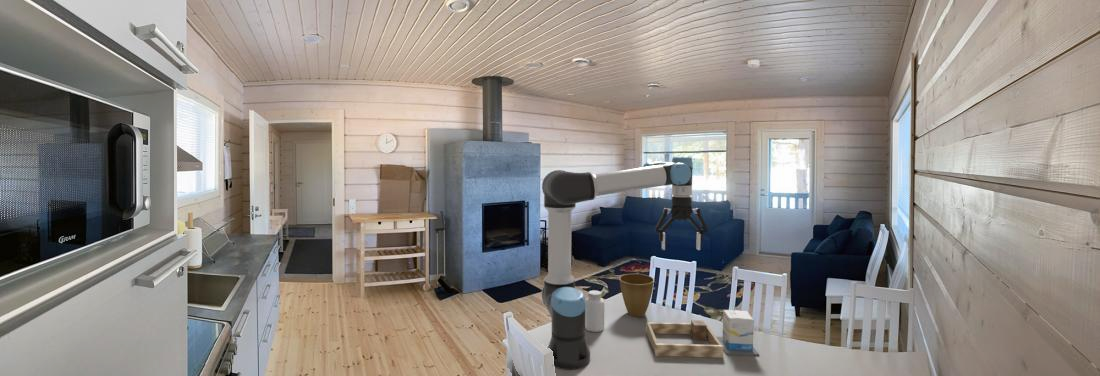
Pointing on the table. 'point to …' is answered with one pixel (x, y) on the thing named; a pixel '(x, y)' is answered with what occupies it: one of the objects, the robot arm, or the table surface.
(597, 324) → the white bottle
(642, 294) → the plant pot
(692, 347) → the frame
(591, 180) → the robot arm
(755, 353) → the grey mat
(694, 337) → the walnut block
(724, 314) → the ink box
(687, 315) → the table surface
